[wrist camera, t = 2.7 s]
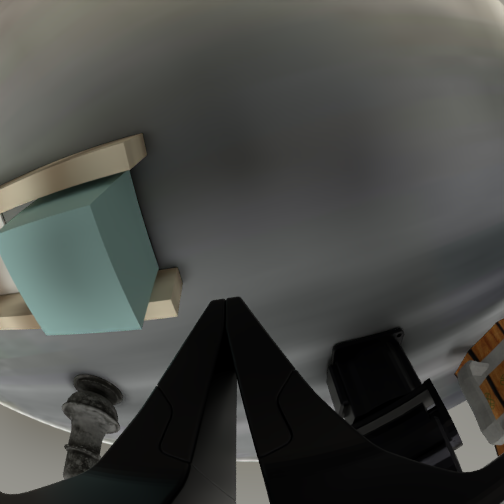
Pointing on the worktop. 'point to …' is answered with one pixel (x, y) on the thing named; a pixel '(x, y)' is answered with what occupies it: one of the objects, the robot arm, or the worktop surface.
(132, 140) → the chute
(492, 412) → the mug
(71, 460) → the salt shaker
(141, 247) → the block
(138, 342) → the worktop surface
